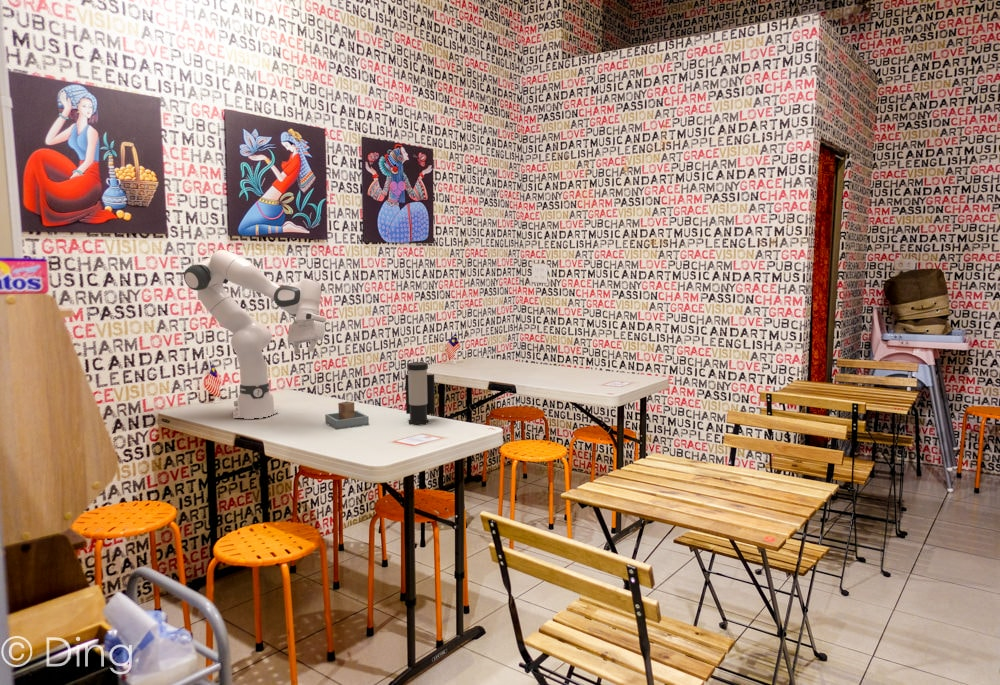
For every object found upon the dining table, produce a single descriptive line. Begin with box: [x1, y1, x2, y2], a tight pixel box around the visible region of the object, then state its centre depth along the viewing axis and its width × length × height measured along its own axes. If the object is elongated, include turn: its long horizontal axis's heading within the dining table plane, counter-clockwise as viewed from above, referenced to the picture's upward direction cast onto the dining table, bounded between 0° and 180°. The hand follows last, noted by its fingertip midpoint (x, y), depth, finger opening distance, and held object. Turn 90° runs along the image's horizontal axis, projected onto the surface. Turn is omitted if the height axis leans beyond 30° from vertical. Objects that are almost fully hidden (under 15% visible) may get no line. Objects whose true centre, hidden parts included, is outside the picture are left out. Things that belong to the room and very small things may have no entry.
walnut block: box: [337, 400, 355, 420], centre depth 282 cm, size 4×4×8 cm
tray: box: [324, 410, 370, 430], centre depth 283 cm, size 14×14×4 cm
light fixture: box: [404, 361, 436, 426], centre depth 283 cm, size 12×11×25 cm
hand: (303, 352), depth 273 cm, fingers open, 8 cm apart
